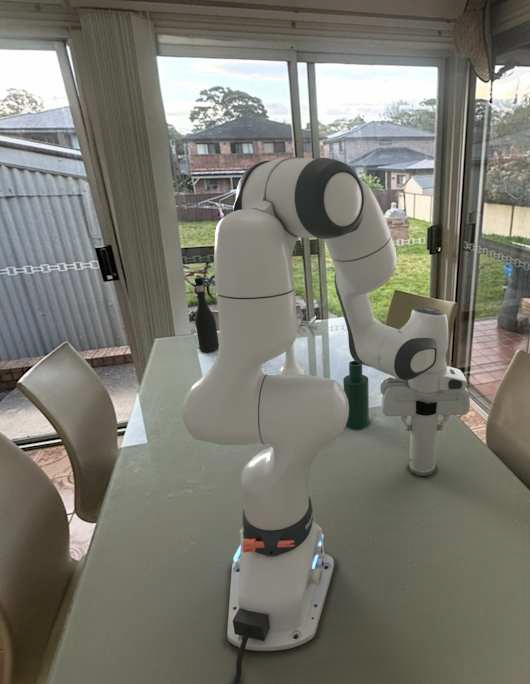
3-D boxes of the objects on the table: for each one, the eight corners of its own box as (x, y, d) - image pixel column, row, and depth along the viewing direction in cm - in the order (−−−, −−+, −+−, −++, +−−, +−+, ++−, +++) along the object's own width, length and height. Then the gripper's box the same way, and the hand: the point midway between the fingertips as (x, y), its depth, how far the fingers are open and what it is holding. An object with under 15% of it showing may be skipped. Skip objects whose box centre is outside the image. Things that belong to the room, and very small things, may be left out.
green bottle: (369, 428, 125) (368, 368, 119) (344, 429, 125) (342, 368, 118) (368, 415, 132) (367, 357, 125) (344, 416, 132) (343, 358, 125)
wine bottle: (194, 351, 180) (183, 279, 169) (206, 344, 187) (196, 275, 176) (211, 353, 178) (200, 280, 167) (223, 346, 185) (213, 276, 174)
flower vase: (325, 381, 154) (322, 313, 145) (276, 395, 144) (269, 323, 135) (308, 368, 164) (304, 304, 155) (261, 381, 155) (254, 313, 146)
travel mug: (404, 472, 107) (406, 399, 100) (415, 457, 112) (417, 388, 105) (429, 480, 104) (433, 406, 97) (438, 464, 110) (442, 393, 103)
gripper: (381, 384, 96) (381, 437, 101) (474, 382, 97) (469, 435, 102) (379, 371, 102) (379, 423, 107) (467, 370, 103) (463, 421, 108)
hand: (424, 429), depth 104 cm, fingers closed on travel mug, 6 cm apart
